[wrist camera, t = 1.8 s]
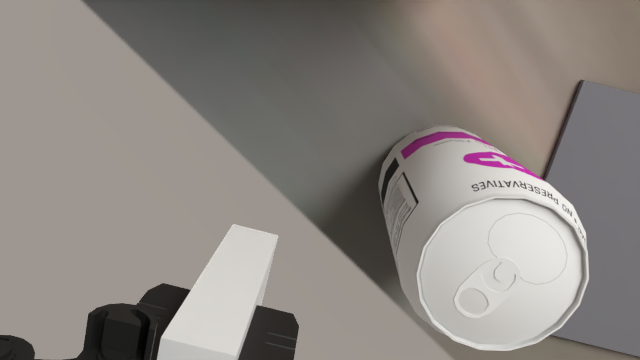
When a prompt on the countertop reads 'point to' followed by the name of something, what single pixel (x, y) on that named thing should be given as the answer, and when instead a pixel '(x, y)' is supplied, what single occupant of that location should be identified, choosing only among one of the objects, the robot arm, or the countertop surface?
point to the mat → (604, 212)
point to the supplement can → (481, 240)
